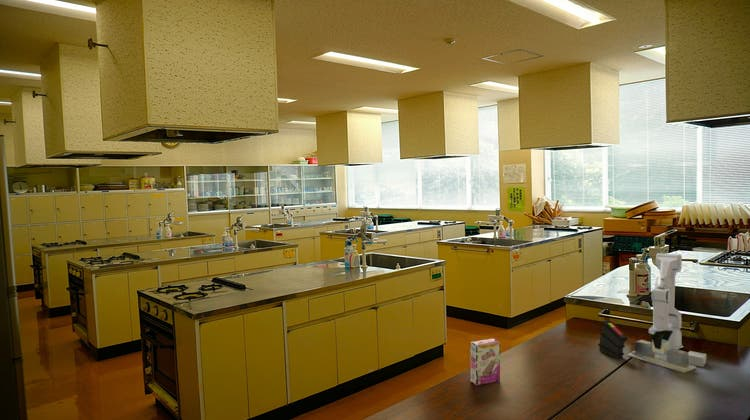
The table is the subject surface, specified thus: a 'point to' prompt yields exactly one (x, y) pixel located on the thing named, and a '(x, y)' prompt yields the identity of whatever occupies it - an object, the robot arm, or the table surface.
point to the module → (663, 347)
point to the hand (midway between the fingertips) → (660, 347)
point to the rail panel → (673, 361)
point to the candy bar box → (485, 361)
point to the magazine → (612, 340)
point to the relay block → (696, 358)
